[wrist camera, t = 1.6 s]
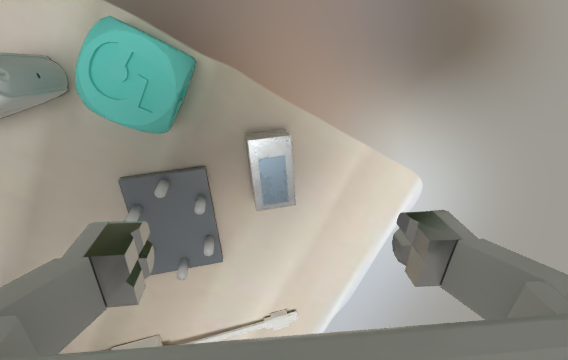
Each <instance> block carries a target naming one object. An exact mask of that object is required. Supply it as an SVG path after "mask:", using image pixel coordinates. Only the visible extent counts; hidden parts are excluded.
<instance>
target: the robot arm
mask: <svg viewBox="0 0 568 360" xmlns="http://www.w3.org/2000/svg"><path fill="white" fill-rule="evenodd" d="M397 225H398V226H399V229H398V230H397V231H396V232H395V233H394V236H393V240H392V245H393V252H394V254H395V256H396V258H397V260H398V261H399V262H400V263H402V264H404V265H405V266H406V268H405V272H406V274H407V275H408V277H409V278H410V280H411V281H412V283H413V284H414V286H416V287H420V286H441V288H442V289H444V290H445V291H447V292H448V293H449V294H451V295H452V296H453V297H455V298H456V299H458V300H459V301H460V302H462V303H463V304H464V305H466V306H467V307H469V308H470V309H471V310H473V311H474V312H475V313H477V314H478V315H480V316H481V317H482V318H484V319H485V320H481V321H468V322H456V323H443V324H432V325H419V326H406V327H394V328H381V329H369V330H356V331H343V332H331V333H318V334H306V335H293V336H281V337H268V338H256V339H244V340H231V341H219V342H207V343H195V344H183V345H170V346H158V347H146V348H133V349H120V350H108V351H95V352H82V353H69V354H58V353H59V352H60V351H61V350H63V349H64V348H65V347H66V346H67V345H68V344H69V343H70V342H71V341H72V340H73V339H74V338H76V337H77V336H78V335H79V334H80V333H81V332H82V331H83V330H84V329H85V328H86V327H88V326H89V325H90V324H91V323H92V322H93V321H94V320H95V319H96V318H97V317H98V316H99V315H101V314H102V313H103V312H104V311H105V310H106V307H117V306H128V305H138V304H139V302H140V299H141V297H142V294H143V292H144V289H145V287H146V285H145V281H144V279H145V278H147V277H148V276H149V275H150V274H151V271H152V269H153V264H154V248H153V244H152V243H151V242H150V241H148V240H147V238H148V236H149V234H150V230H149V226H148V223H147V222H145V221H123V222H93V223H90V224H89V225H88V226H87V227H86V229H85V230H84V231H83V232H82V233H81V235H80V236H79V237H78V238H77V240H76V241H75V242H74V243H73V244H72V246H71V247H70V248H69V249H68V250H67V252H66V253H65V254H64V255H63V257H62V258H59V259H53V260H52V261H50V262H48V263H46V264H44V265H42V266H40V267H38V268H36V269H35V270H33V271H31V272H29V273H27V274H25V275H23V276H21V277H20V278H18V279H16V280H14V281H12V282H10V283H8V284H6V285H4V286H3V287H1V288H0V360H568V275H567V274H565V273H562V272H560V271H557V270H555V269H553V268H551V267H548V266H546V265H543V264H541V263H539V262H536V261H534V260H532V259H529V258H527V257H524V256H522V255H520V254H518V253H515V252H513V251H511V250H508V249H506V248H503V247H501V246H499V245H497V244H494V243H492V242H489V241H487V240H485V239H478V238H477V237H476V236H475V235H474V234H473V233H471V232H470V231H469V230H468V229H467V228H466V227H465V226H464V225H463V224H461V223H460V222H459V221H458V220H457V219H456V218H455V217H454V216H453V215H451V214H450V213H449V212H448V211H445V210H438V211H437V210H436V211H425V212H405V213H400V215H399V216H398V219H397Z"/></svg>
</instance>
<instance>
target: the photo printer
mask: <svg viewBox="0 0 568 360" xmlns="http://www.w3.org/2000/svg"><path fill="white" fill-rule="evenodd" d="M67 85H68V80H67V76H66V74H65V72H64V71H63V69H62V68H61V67H60V66H59V65H58V64H56V63H55V62H53V61H51V60H50V59H49V58H48V57H47V56H42V55H29V54H14V53H0V118H3V117H6V116H8V115H11V114H14V113H17V112H20V111H23V110H25V109H28V108H31V107H34V106H36V105H39V104H41V103H44V102H46V101H49V100H51V99H54V98H56V97H58V96H60V95H62V94H63V93H65V92H66V91H68V88H67Z"/></svg>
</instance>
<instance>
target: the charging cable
mask: <svg viewBox="0 0 568 360" xmlns="http://www.w3.org/2000/svg"><path fill="white" fill-rule="evenodd" d="M295 320H297V312H296V311H294V312H291V313H287V311H286V309H284V310H281V311H277V312H274V313H270V317H267V318H264V321H262V322H259V323H255V324H252V325H248V326H245V327H241V328H238V329H234V330H231V331H227V332H224V333H220V334H217V335H213V336H210V337H206V338H203V339H199V340H196V341H192V342H189V343H186V344H195V343H207V342H216V341H220V340H223V339H227V338H230V337H234V336H237V335H240V334H244V333H247V332H251V331H254V330H258V329H261V328H264V327H265V328H266V330H267V329H270V328H273V331H274V330H277V329H281V328H284V327H288V326H289V322H291V321H295ZM182 345H183V344H182ZM158 346H163V344H162V341H161V339H160V336H159V335H157V336H153V337H149V338H146V339H142V340H139V341H135V342H131V343H128V344H124V345H121V346H117V347H113V348H111V350H120V349H133V348H146V347H158ZM167 346H169V345H167Z"/></svg>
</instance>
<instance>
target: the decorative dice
mask: <svg viewBox="0 0 568 360" xmlns="http://www.w3.org/2000/svg"><path fill="white" fill-rule="evenodd" d="M194 67H195V59H194V58H193V57H192V56H190V55H188V54H186V53H184V52H182V51H180V50H178V49H176V48H175V47H173V46H171V45H169V44H167V43H165V42H163V41H161V40H159V39H157V38H155V37H153V36H151V35H149V34H147V33H145V32H143V31H141V30H139V29H137V28H135V27H132V26H130V25H128V24H126V23H124V22H122V21H120V20H118V19H116V18H113V17H111V16H108V17H105V18H102V19H100V20H99V21H98V22H97V23H96V24H95V25H94V26H93V27H92V29H91V30H90V32H89V33H88V35H87V37H86V39H85V41H84V43H83V46H82V48H81V51H80V54H79V57H78V61H77V66H76V72H75V85H76V90H77V92H78V94H79V96H80V98H81V99H82V101H83V102H84V104H85V105H86V107H88V108H89V109H90V110H91V111H93V112H94V113H96V114H98V115H100V116H102V117H104V118H106V119H108V120H110V121H112V122H115V123H117V124H120V125H123V126H126V127H129V128H132V129H136V130H140V131H144V132H149V133H164V132H167V131H169V129H170V128H171V126H172V124H173V122H174V120H175V118H176V116H177V113H178V111H179V109H180V106H181V104H182V102H183V99H184V97H185V94H186V91H187V89H188V86H189V83H190V80H191V77H192V74H193V71H194Z"/></svg>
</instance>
